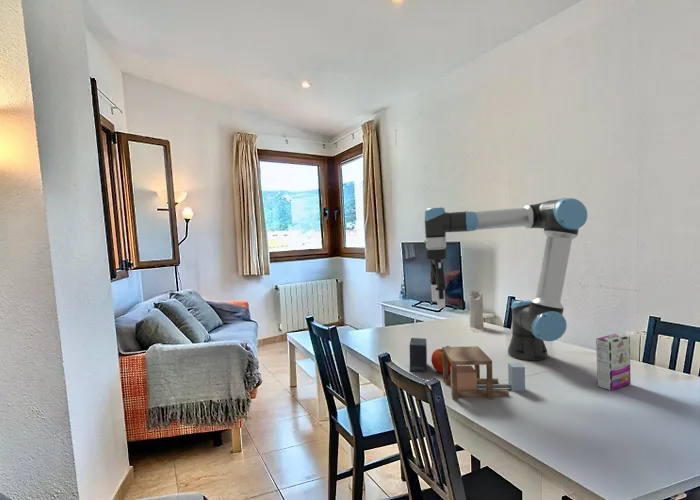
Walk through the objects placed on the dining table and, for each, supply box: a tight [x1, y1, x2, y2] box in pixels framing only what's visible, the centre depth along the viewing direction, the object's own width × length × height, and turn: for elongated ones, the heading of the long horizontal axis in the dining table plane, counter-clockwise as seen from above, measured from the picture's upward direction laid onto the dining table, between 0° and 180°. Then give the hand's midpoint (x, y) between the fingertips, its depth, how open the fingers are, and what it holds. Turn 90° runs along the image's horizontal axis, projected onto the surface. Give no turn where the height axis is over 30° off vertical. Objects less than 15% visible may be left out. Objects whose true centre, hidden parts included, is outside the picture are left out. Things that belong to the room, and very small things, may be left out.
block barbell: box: [450, 362, 526, 392], centre depth 136 cm, size 23×7×8 cm, turn 88°
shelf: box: [442, 345, 510, 400], centre depth 136 cm, size 18×16×12 cm
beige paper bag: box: [468, 290, 486, 333], centre depth 218 cm, size 7×14×20 cm, turn 170°
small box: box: [409, 337, 428, 373], centre depth 160 cm, size 11×6×10 cm, turn 168°
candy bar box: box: [595, 333, 632, 392], centre depth 136 cm, size 11×5×16 cm, turn 117°
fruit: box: [430, 345, 451, 374], centre depth 155 cm, size 10×10×10 cm
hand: (438, 304), depth 156 cm, fingers open, 13 cm apart
